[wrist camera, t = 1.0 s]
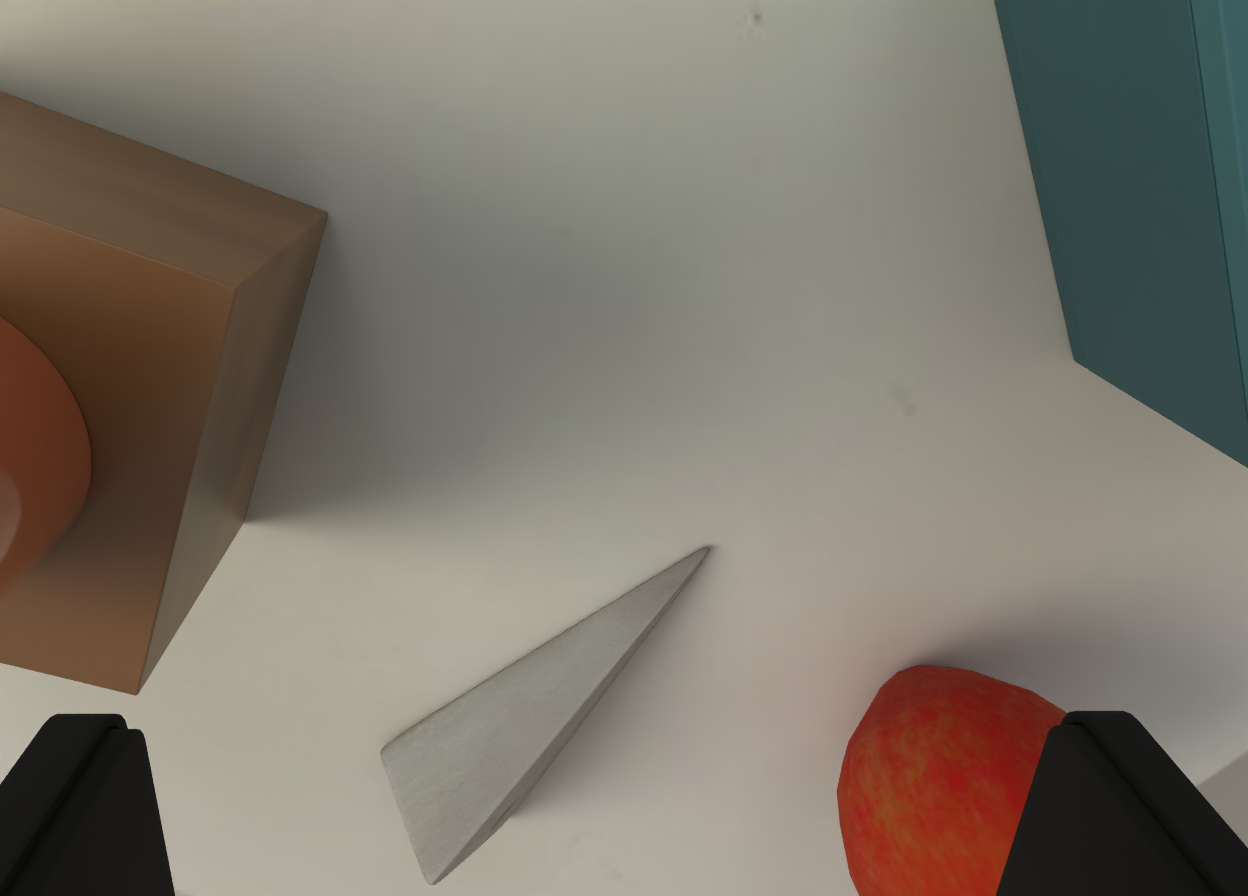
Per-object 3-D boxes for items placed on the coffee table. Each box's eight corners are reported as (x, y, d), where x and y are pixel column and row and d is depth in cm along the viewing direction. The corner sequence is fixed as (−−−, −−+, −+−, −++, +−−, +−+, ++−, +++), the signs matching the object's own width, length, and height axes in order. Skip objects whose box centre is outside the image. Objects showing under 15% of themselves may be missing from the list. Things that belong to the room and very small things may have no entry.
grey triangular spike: (574, 455, 28) (326, 783, 29) (696, 553, 27) (433, 891, 28) (621, 465, 33) (412, 740, 35) (723, 547, 32) (504, 828, 33)
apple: (741, 683, 32) (828, 971, 22) (951, 544, 30) (1146, 789, 20) (870, 819, 35) (996, 1125, 25) (1066, 700, 33) (1283, 978, 24)
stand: (-84, 60, 22) (-388, 72, 15) (328, 212, 24) (237, 287, 17) (-120, 419, 26) (-381, 570, 19) (243, 524, 28) (137, 696, 21)
